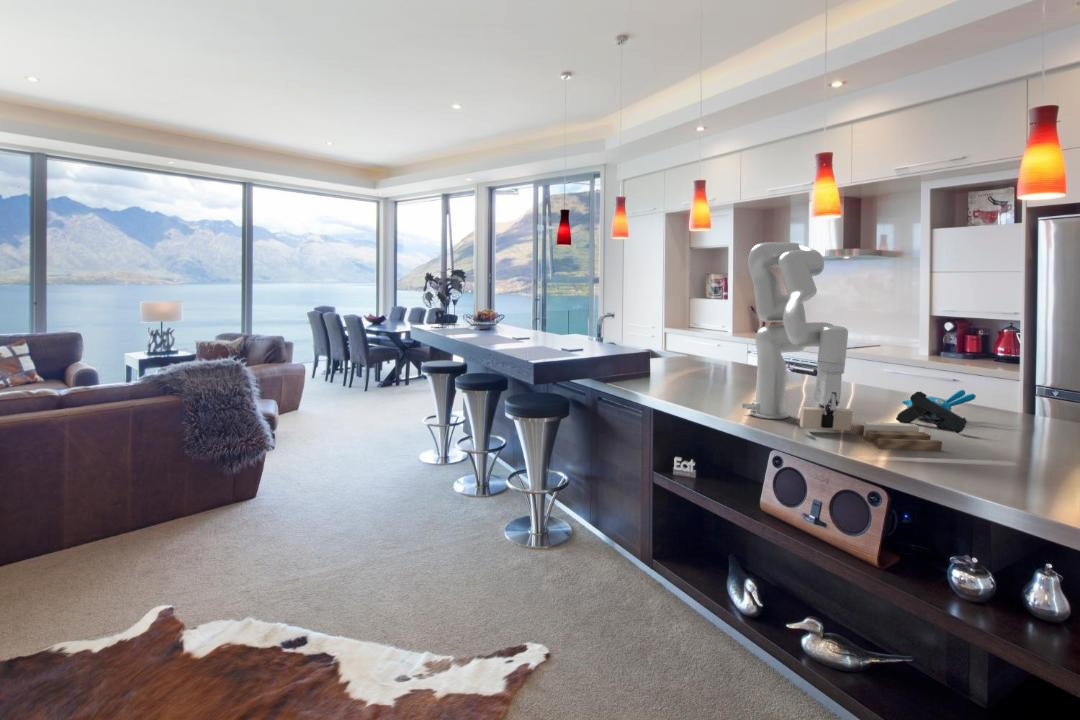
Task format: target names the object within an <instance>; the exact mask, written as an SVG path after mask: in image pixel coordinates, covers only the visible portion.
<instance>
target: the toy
mask: <svg viewBox="0 0 1080 720" xmlns="http://www.w3.org/2000/svg"><path fill="white" fill-rule="evenodd" d="M976 395H977V394H974V393H969V394H966V391H965V390H964V389H960V390H958V391H956V392H955V393H953V394H952V395H951V396H949V398H947V399H946V400H944V399H943V398H938V397H934V396H926V398H928V399H930V400H931V401H933V402H935V403H937V404H939V405H940V406H942V407H944V408H946V409H947V410H949V411H951V412H952V407H954V406H958V405H962V404H964V403H968V402H971V401H973V400H975V399H976ZM901 403H902V404H903V405H905V406H906V409H907V408H908V407H910V406H912V402H911V400H910V399H907V400H902V401H901ZM925 416H926V418H928V419H930V420H932V421H938V420H939V421H940V419H939V418H937V417H936V416H935V414H933V415H932V417H931V418H930V417H928V416H927V415H925ZM918 418H919V419H922V418H923V417H918ZM918 418H917V419H918ZM922 420H926V419H925V418H923V419H922Z"/></svg>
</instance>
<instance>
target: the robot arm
mask: <svg viewBox="0 0 1080 720" xmlns="http://www.w3.org/2000/svg"><path fill="white" fill-rule="evenodd" d="M747 264H748V265H747V266H748V272H749V275H750V278H751V280H752V284H753V289H754V290H753V292H754V300H755V308H756V314H757V317H758V319H759V320H760V321H761V322H764V323H765V322H767V323H774V322H775V323H783V324H774V325H773V324H772V325H766V326H763V327H761V328H759V329H758V330H757V332H756V334H755V346H756V347H755V348H756V354H757V357H756V358H757V361H756V362H757V365H756V366H757V367H756V368H757V369H756V384H755V385H756V387H755V389H756V390H755V400H753V401H752V402H750V403H747V402H741V405H740V407H741V409H742V410H743V409H746V410H750V415H751V416H754V417H756V418H760V419H768V420H770V419H771V420H783V419H787V418H789V415H790V414H789V412H788V411H786V410H785V406H786V405H785V403H786V384H787V363H786V361H785V359H784V357H783V355H782V354H784V353H798V352H802V351H804V350H805V348H809V347H814V348H817V347H818V352H817V353H818V354H817V361H816V362H817V363H816V372H817V374H816V378H815V384H814V391H813V399H814V400H815V401H816V402H817V403H818V407H820V408H824V414H822V422H821V427H822V428H832V427H833V419H834V411H836V408H837V407H838V406H839V405H840V402H841V393H842V375H843V374H845V366H846V357H847V348H848V340H849V339H848V338H849V330H848V328H846V327H845V326H840V325H839V326H838V325H834V324H831V323H830V322H825V321H823V322H818V321H817V322H807V319H806V310H805V306H804V303H806V302H807V301H809V300H811V299H812V298H813V297H815V295H816V294H817V292H818V289H817V285H816V284H815V281H814V277H815V276H818V275H820V274H821V273H823V271H824V268H825V260H824V257H823V255H822V254H821V253H820V252H819V251H818V250H817V249H814V248H811V247H809V246H806V245H804V244H801V243H798V242H787V241H786V242H783V241H782V242H781V241H780V242H778V241H776V242H774V241H770V242H769V241H767V242H761V243H758V244H756V245H755V244H754V246H753V247H752V248H751V250H750V251H749V254H748V259H747ZM772 268H779V272H780V275H781V278H782V280H783V283H784V286H785V289H786V293H787V294H783V293H782V292H781V291H782V290H781V284H780V281H779V280H780V279H779V278H778V277H777V275H776V273H774V271H773V270H772ZM827 408H828V409H827Z"/></svg>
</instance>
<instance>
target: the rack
mask: <svg viewBox="0 0 1080 720" xmlns="http://www.w3.org/2000/svg"><path fill="white" fill-rule="evenodd" d="M856 434H857V435H858V436H860V437H862V438H863V439H865V440H866V441H867V442H869V443H870V444H871V445H873V446H875V447H876V448H877V449H880V450H904V451H928V452H929V451H933V452H935V451H938V452H942V447H943V441H942V440H936V439H935V440H933V439H931V435H930V434H929V433H927V432H923V431H919V432H901V431H869V430H866V431H865V436H864V435H863V434H864V424H857V427H856Z"/></svg>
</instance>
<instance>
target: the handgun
mask: <svg viewBox="0 0 1080 720" xmlns="http://www.w3.org/2000/svg"><path fill="white" fill-rule="evenodd" d="M926 397H927V394H926V393H924V392H922V391H915V392H914V393H913V394H912V395H911V396H910V398H909V400H911V402H912V406H910V407H908V408H907V407H906V408H905V409H903V410H902V411H899V413H897V416H896V420H897V422H899V423H904V424H912V423H913V421H915V420H917V419H918V417H923V418H925V419H924V420H927V421H928V422H930V423H932V424H934V425H936V427H937V428H938V429H942V430H945V431H951V432H953V433H956V434H959V433H961V432H963V431H964V430H965V428H966V424H967V421H968V420H967V418H966V417H962V416H960V415H958V414H957V413H955V412H952V410H951V411H949V410H947V409H946V408H944V407H942V406H940V405H939V404H937V403H935V402H933V401H931V400H930V399H928V398H926ZM933 414H935V416H936V417H937V418H939V421H938V422H935V420H930V419H928V418H926V416H925V415H927V416H928V417H930V418H931V417H932V415H933Z"/></svg>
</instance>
